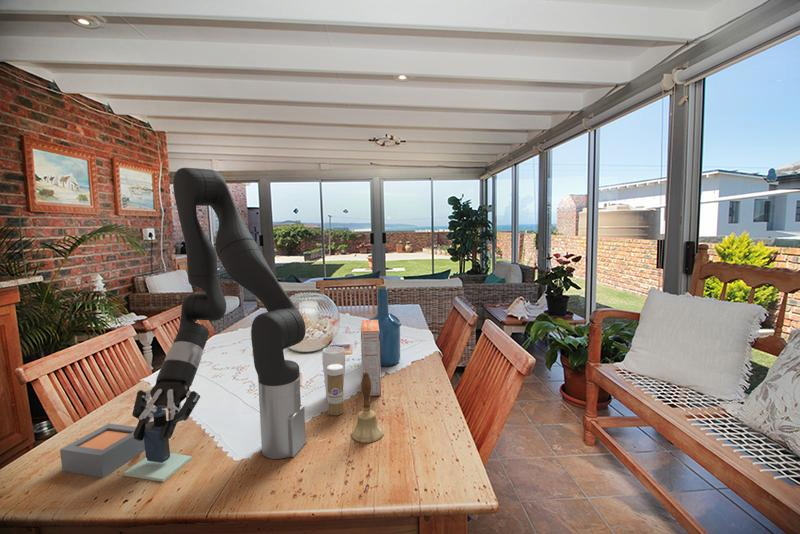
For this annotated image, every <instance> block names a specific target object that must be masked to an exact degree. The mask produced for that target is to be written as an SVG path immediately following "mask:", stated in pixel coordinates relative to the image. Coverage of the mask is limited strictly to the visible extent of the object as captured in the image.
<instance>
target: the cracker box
mask: <svg viewBox="0 0 800 534" xmlns="http://www.w3.org/2000/svg"><path fill="white" fill-rule="evenodd" d="M360 324H361V325H360V326H361V329H360V351H361V355H360V356H361V376H362V377H363V373H364V372H368V373H369V377H370V380H371V393H370V397H379V396H382V379H381V366H380V332H379V325H378V320H369V319H364V320H361V323H360ZM362 377H361V378H362Z"/></svg>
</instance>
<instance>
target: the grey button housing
mask: <svg viewBox="0 0 800 534" xmlns="http://www.w3.org/2000/svg"><path fill="white" fill-rule="evenodd" d="M136 427H137V426H131V425H125V424H123V425H122V424H115V423H107V424H105V425H104V426H101V427H100V428H98V429H96V430H93V431H92V432H90V433H88V434H86V435H84V436H82V437H81V438H79V439H77V440H75V441H74V442H73V441H72V442H71V443H70V444H67V445H66V446H63V447H62V448H60V449H59V452H60V460H61V471H62V472H65V473H71V474H72V473H73V474H77V475H84V476H89V477H90V476H91V477H97V478H105V477H107V476H108V475H110V474H111V473H113V472H114V471H116V470H117V469H119V468H121V467H122V466H123V465H125V464H126V463H128V462H129V461H132V459H134V458H136V457H137V456H139V455H140V454H142V453H143V452H145V445H144V438H143V440H142V441H138V440H136V439H134V436H133V435H134V431H135V429H136ZM106 431H115V432H122V433H130V434H129V435H127V436H125V437H124V438H122V439H120V440H119V441H117V442H115V443H113V444H112V445H110V446H108V447H107V448H105V449H103V450H100V449H93V448H86V447H79V446H81V445H82V444H84V443H86V442H88V441H90V440H92V439H93V438H95V437H97V436H99V435H101V434H102V433H104V432H106Z"/></svg>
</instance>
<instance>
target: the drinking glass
mask: <svg viewBox="0 0 800 534" xmlns="http://www.w3.org/2000/svg"><path fill="white" fill-rule="evenodd" d="M321 354H322V355H321V356H322V371H323V377H324V386H325V397H326V399H328V376H327V367H328V366H329V365H332V364H340V365H342V366H343V396H344V391H345V389H344V388H345V387H344V386H345V371H346V370H345V369H346V351H345V348H344V347H343V346H342V347H341V346H328V347H325V348H323V349H322V353H321Z"/></svg>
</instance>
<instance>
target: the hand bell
mask: <svg viewBox="0 0 800 534" xmlns="http://www.w3.org/2000/svg"><path fill="white" fill-rule="evenodd" d="M360 390H361V394H362V397H363V399H362V400H363V401H362V402H363V403H362V404H363V405H362V407H363V410H361V411H359V412H358V415H357V422H356V425H355V427H354V428H353V429H351V433H350V437H351V439H352V440H353V441H354V442H358V443H362V444H363V443H364V444H368V443H374V442H376V441H378V440H380V439H381V438H382V437H383V436H384V432H385V431H384V429H383V428H382V426H381V425H380V424H379V423H378V420H377V414H376V412H375V411H374V410H372V409H371V405H370V404H371V403H370V402H371V401H370V400H371V399H370V397H371V396H370V393H371V380H370V377H369V373H368V372H364V373H363V377H361V380H360Z"/></svg>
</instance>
